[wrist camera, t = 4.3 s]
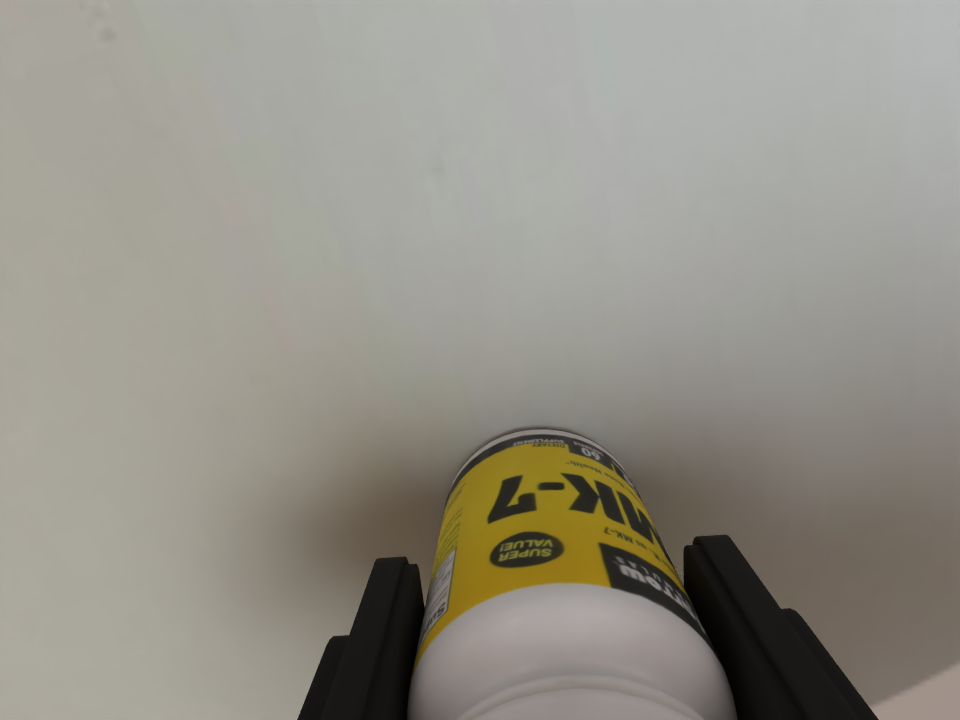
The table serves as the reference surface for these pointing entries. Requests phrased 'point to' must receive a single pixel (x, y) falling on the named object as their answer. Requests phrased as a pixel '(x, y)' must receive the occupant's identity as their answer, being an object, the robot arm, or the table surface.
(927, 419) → the table surface
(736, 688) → the robot arm
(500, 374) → the table surface
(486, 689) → the supplement bottle
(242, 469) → the table surface
